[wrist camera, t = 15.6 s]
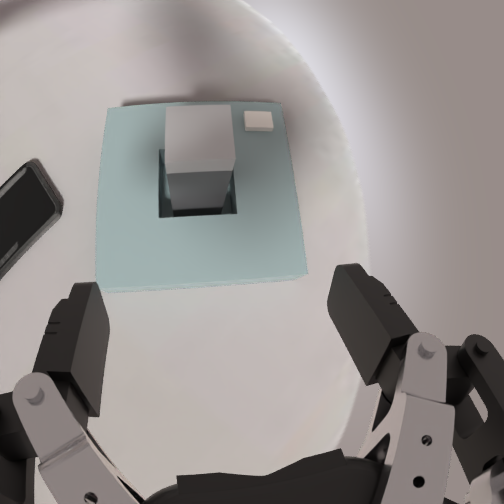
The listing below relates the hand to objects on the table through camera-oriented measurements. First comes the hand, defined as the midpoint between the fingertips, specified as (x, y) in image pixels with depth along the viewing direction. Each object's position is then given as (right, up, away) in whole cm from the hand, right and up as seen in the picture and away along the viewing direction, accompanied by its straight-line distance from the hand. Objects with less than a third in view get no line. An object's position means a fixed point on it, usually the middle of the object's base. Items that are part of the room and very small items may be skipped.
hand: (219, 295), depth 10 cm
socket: (-4, +6, +17) cm, 19 cm away
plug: (-4, +6, +17) cm, 18 cm away
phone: (-24, +3, +13) cm, 28 cm away
